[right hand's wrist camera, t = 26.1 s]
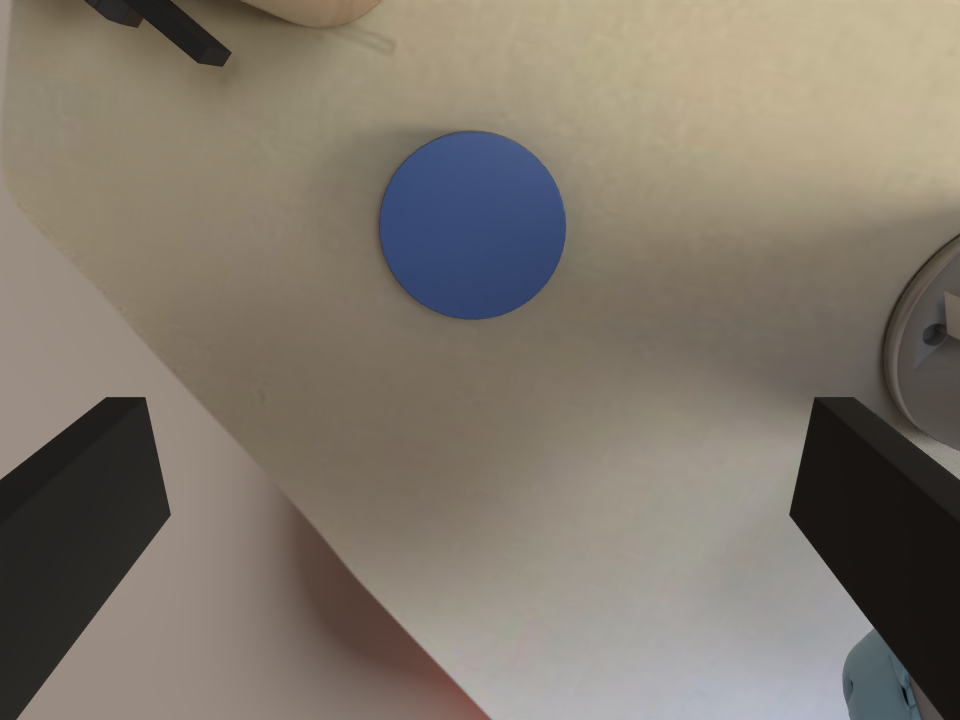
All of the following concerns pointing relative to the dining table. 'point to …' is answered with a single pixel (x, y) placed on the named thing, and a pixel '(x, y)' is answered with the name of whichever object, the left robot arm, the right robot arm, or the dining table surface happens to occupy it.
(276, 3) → the jar
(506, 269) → the lid
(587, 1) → the dining table surface
